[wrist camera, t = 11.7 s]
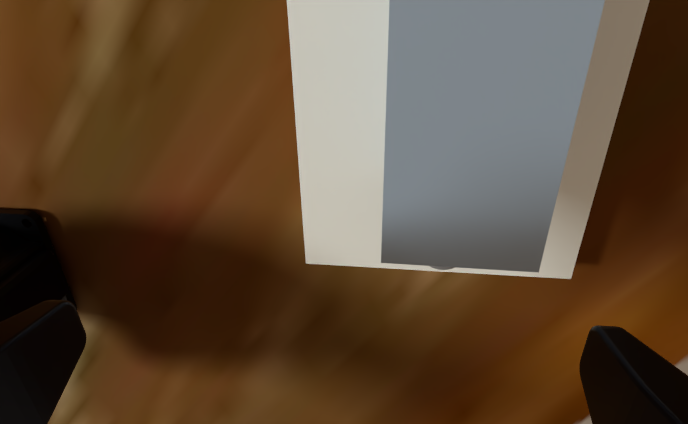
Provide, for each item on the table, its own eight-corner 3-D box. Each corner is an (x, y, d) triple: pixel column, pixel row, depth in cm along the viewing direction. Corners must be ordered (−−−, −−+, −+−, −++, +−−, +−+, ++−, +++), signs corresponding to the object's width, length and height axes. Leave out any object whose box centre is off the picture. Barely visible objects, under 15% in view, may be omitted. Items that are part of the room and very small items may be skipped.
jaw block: (388, 170, 17) (380, 262, 12) (400, -124, 13) (395, -178, 8) (498, 174, 17) (538, 272, 12) (548, -129, 12) (651, -191, 7)
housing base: (312, 244, 21) (293, 301, 18) (277, -313, 12) (226, -416, 9) (560, 257, 20) (592, 321, 16) (719, -353, 11) (861, -493, 8)
